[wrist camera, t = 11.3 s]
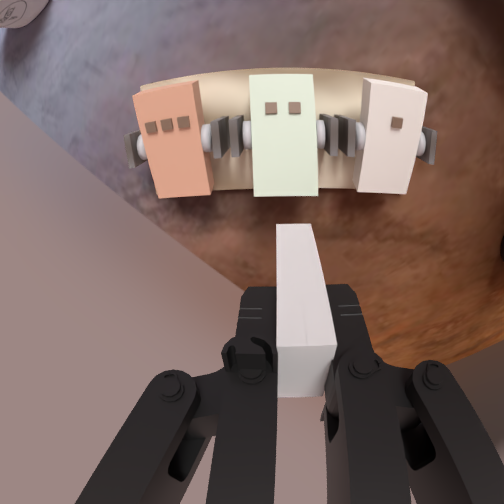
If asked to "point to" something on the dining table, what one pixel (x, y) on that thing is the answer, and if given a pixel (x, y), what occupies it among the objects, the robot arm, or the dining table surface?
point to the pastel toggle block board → (238, 110)
